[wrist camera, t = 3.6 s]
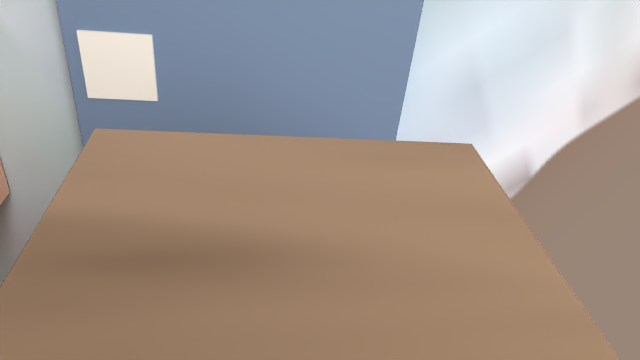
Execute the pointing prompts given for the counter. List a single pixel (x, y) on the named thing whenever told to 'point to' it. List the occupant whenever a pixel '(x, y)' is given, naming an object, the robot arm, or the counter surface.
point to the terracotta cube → (3, 185)
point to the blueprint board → (241, 65)
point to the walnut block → (286, 257)
